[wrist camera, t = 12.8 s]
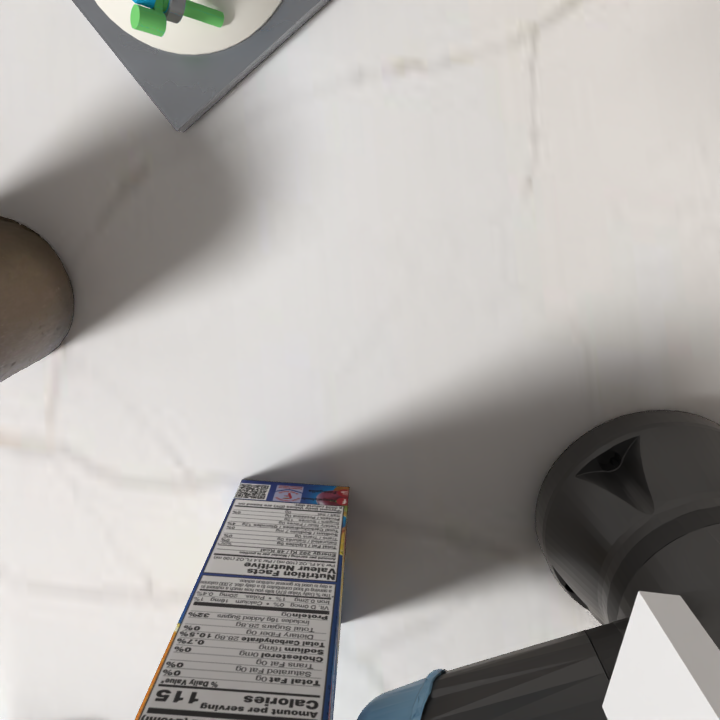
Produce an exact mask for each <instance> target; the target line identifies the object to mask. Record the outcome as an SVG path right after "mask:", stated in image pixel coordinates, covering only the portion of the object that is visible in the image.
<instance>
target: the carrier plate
mask: <svg viewBox="0 0 720 720" xmlns="http://www.w3.org/2000/svg"><path fill="white" fill-rule="evenodd" d="M72 1H73V2H74V3H75V5H76V6H77V7H78V8H79V10H80V11H81V12H82V13H83V15H84V16H85V17H86V18H87V20H88V21H89V22H90V23H91V25H92V26H93V27H94V28H95V30H96V31H97V32H98V33H99V35H100V36H101V37H102V38H103V40H104V41H105V42H106V43H107V45H108V46H109V47H110V48H111V50H112V51H113V52H114V53H115V55H116V56H117V57H118V58H119V60H120V61H121V62H122V63H123V65H124V66H125V67H126V68H127V70H128V71H129V72H130V73H131V75H132V76H133V77H134V78H135V80H136V81H137V82H138V83H139V85H140V86H141V87H142V88H143V90H144V91H145V92H146V93H147V95H148V96H149V97H150V98H151V100H152V101H153V102H154V103H155V105H156V106H157V107H158V108H159V110H160V111H161V112H162V113H163V115H164V116H165V117H166V118H167V120H168V121H169V122H170V123H171V125H172V126H173V127H174V128H175V130H176V131H180V132H184V131H186V130H187V129H188V128H189V127H190V126H191V125H192V124H193V123H194V122H196V121H197V120H198V119H199V118H200V117H201V116H202V115H203V114H204V113H206V112H207V111H208V110H209V109H210V108H211V107H212V106H213V105H214V104H216V103H217V102H218V101H219V100H220V99H221V98H222V97H223V96H224V95H226V94H227V93H228V92H229V91H230V90H231V89H232V88H233V87H234V86H236V85H237V84H238V83H239V82H240V81H241V80H242V79H243V78H244V77H246V76H247V75H248V74H249V73H250V72H251V71H252V70H253V69H254V68H256V67H257V66H258V65H259V64H260V63H261V62H262V61H263V60H264V59H266V58H267V57H268V56H269V55H270V54H271V53H272V52H273V51H274V50H276V49H277V48H278V47H279V46H280V45H281V44H282V43H283V42H284V41H286V40H287V39H288V38H289V37H290V36H291V35H292V34H293V33H294V32H296V31H297V30H298V29H299V28H300V27H301V26H302V25H303V24H304V23H306V22H307V21H308V20H309V19H310V18H311V17H312V16H313V15H314V14H316V13H317V12H318V11H319V10H320V9H321V8H322V7H323V6H324V5H326V4H327V3H328V2H329V1H330V0H282V2H281V4H280V5H279V6H278V8H277V9H276V11H275V12H274V14H273V15H272V16H271V17H270V19H269V20H268V21H267V22H266V23H265V24H264V25H263V26H262V27H261V28H260V29H259V30H258V31H256V32H255V33H254V34H253V35H251V36H250V37H249V38H247V39H246V40H244V41H242V42H241V43H239V44H237V45H235V46H233V47H230V48H228V49H225V50H223V51H219V52H215V53H211V54H202V55H181V54H176V53H171V52H166V51H163V50H160V49H157V48H154V47H152V46H150V45H148V44H146V43H144V42H142V41H140V40H138V39H136V38H135V37H133V36H132V35H130V34H129V33H127V32H126V31H124V30H123V29H122V28H120V27H119V26H118V25H117V24H116V23H115V22H113V21H112V20H111V19H110V18H109V17H108V16H107V15H106V14H105V12H104V11H103V10H102V9H101V8H100V7H99V6H98V4H97V3H96V2H95V0H72Z"/></svg>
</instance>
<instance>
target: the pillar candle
mask: <svg viewBox="0 0 720 720" xmlns="http://www.w3.org/2000/svg"><path fill="white" fill-rule="evenodd" d="M73 301H74V300H73V291H72V288H71V283H70V280H69V278H68V275H67V273H66V271H65V269H64V267H63V265H62V263H61V261H60V259H59V258H58V256H57V255H56V253H55V251H54V250H53V249H52V248H51V247H50V245H49V244H48V243H47V242H46V241H45V240H44V239H43V238H41V237H40V236H39V235H38V234H37V233H35V232H34V231H32V230H31V229H29V228H28V227H26V226H24V225H22V224H21V225H20V224H19V223H18V222H15V221H14V220H11V219H8V218H4V217H0V382H2V381H3V380H5V379H7V378H8V377H10V376H12V375H13V374H15V373H17V372H19V371H20V370H22V369H24V368H26V367H28V366H30V365H31V364H33V363H35V362H37V361H39V360H40V359H42V358H44V357H45V356H47V355H48V354H49V353H50V352H52V351H53V350H54V349H55V348H57V347H58V346H59V345H60V344H61V342H62V340H63V339H64V337H65V336H66V335H67V333H68V331H69V329H70V326H71V322H72V318H73V311H74V306H73V304H74V302H73Z"/></svg>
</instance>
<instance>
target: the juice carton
mask: <svg viewBox="0 0 720 720" xmlns="http://www.w3.org/2000/svg"><path fill="white" fill-rule="evenodd" d="M348 498H349V487H343V486H328V485H314V484H299V483H284V482H270V481H255V480H242V481H241V483H240V486H239V488H238V490H237V492H236V494H235V497H234V499H233V501H232V503H231V506H230V508H229V510H228V512H227V515H226V517H225V519H224V521H223V524H222V526H221V528H220V530H219V532H218V535H217V537H216V539H215V541H214V544H213V546H212V548H211V550H210V553H209V555H208V557H207V559H206V562H205V564H204V566H203V568H202V570H201V573H200V575H199V577H198V579H197V582H196V584H195V586H194V588H193V591H192V593H191V595H190V597H189V600H188V602H187V604H186V606H185V609H184V611H183V613H182V615H181V617H180V620H179V622H178V624H177V626H176V629H175V631H174V633H173V635H172V638H171V640H170V642H169V644H168V647H167V649H166V651H165V653H164V655H163V658H162V660H161V662H160V664H159V667H158V669H157V671H156V673H155V676H154V678H153V680H152V682H151V685H150V687H149V689H148V691H147V694H146V696H145V698H144V700H143V702H142V705H141V707H140V709H139V711H138V714H137V716H136V718H135V720H333V711H334V699H335V687H336V675H337V663H338V651H339V639H340V627H341V612H342V596H343V579H344V563H345V547H346V531H347V514H348Z"/></svg>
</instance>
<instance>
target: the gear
mask: <svg viewBox="0 0 720 720" xmlns="http://www.w3.org/2000/svg"><path fill="white" fill-rule="evenodd" d="M132 1H133V2H134V3H136V4H134V5H133V7H132V10H131V15H130V22H131V26H132V28H133V29H136V30H139V31H143V32H146V33H149V34H153V35H156V36H159V37H162V36H163V35H164V33H165V31H166V24H167V22H166V21H169V22H172V23H179V22H180V21H181V19H182V17H183V16H186V17H189V18H192V19H195V20H198V21H201V22H204V23H207V24H210V25H213V26H216V27H219V28H220V27H222V25H223V22H224V14H223V12H221V11H218V10H215V9H212V8H209V7H207V6H204V5H201V4H198V3H195V2H193V1H190V0H132ZM137 4H139V5H137ZM140 5H142V6H140ZM143 6H145V7H143ZM146 7H148V8H146ZM149 8H150V9H149Z"/></svg>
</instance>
